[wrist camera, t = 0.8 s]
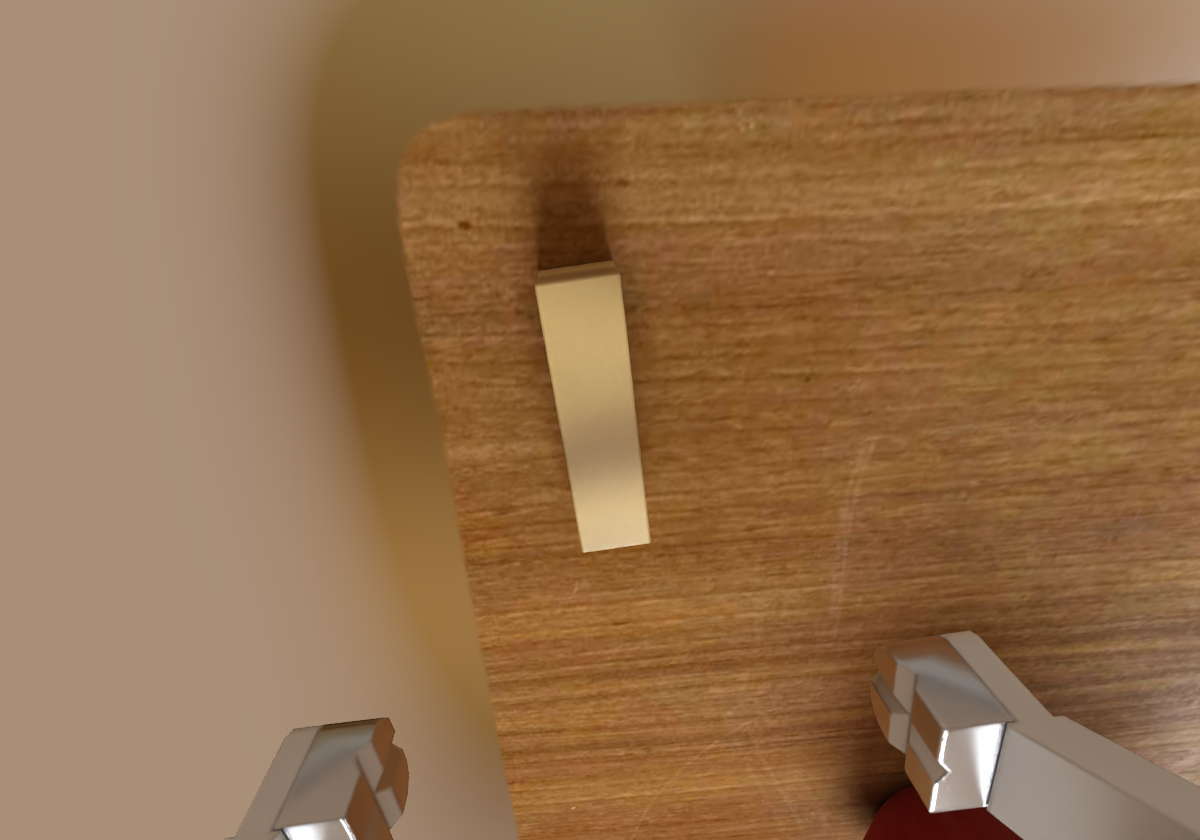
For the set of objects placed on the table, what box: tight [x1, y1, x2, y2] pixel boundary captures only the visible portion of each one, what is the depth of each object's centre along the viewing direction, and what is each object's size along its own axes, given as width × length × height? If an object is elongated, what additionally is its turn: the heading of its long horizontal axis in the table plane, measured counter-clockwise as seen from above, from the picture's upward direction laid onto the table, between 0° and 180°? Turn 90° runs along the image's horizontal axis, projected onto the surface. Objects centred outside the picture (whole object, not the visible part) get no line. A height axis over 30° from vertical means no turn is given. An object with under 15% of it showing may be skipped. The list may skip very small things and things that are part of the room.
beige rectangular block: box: [535, 260, 651, 552], centre depth 20 cm, size 10×3×3 cm, turn 7°
